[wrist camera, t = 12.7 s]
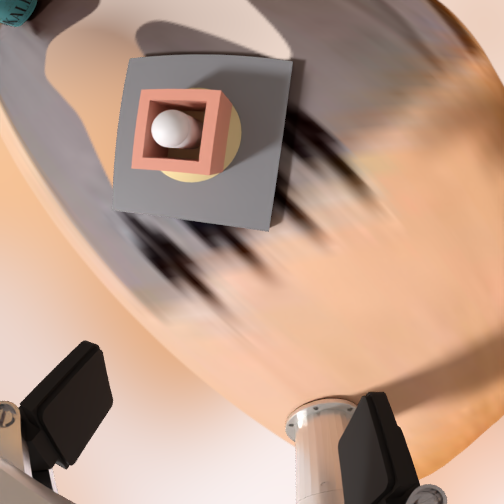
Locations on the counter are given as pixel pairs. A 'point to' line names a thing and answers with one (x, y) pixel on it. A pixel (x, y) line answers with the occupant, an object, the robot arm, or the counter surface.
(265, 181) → the post board
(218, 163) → the collar
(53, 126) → the counter surface
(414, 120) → the counter surface
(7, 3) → the beverage bottle
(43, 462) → the robot arm
